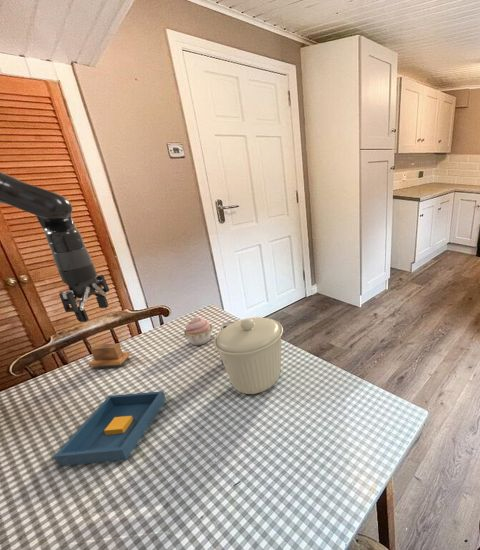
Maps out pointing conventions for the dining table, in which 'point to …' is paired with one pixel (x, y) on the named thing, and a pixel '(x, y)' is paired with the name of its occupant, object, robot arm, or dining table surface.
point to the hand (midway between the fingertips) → (94, 314)
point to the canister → (251, 353)
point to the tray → (103, 448)
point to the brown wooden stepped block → (108, 356)
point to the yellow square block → (118, 425)
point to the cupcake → (198, 331)
